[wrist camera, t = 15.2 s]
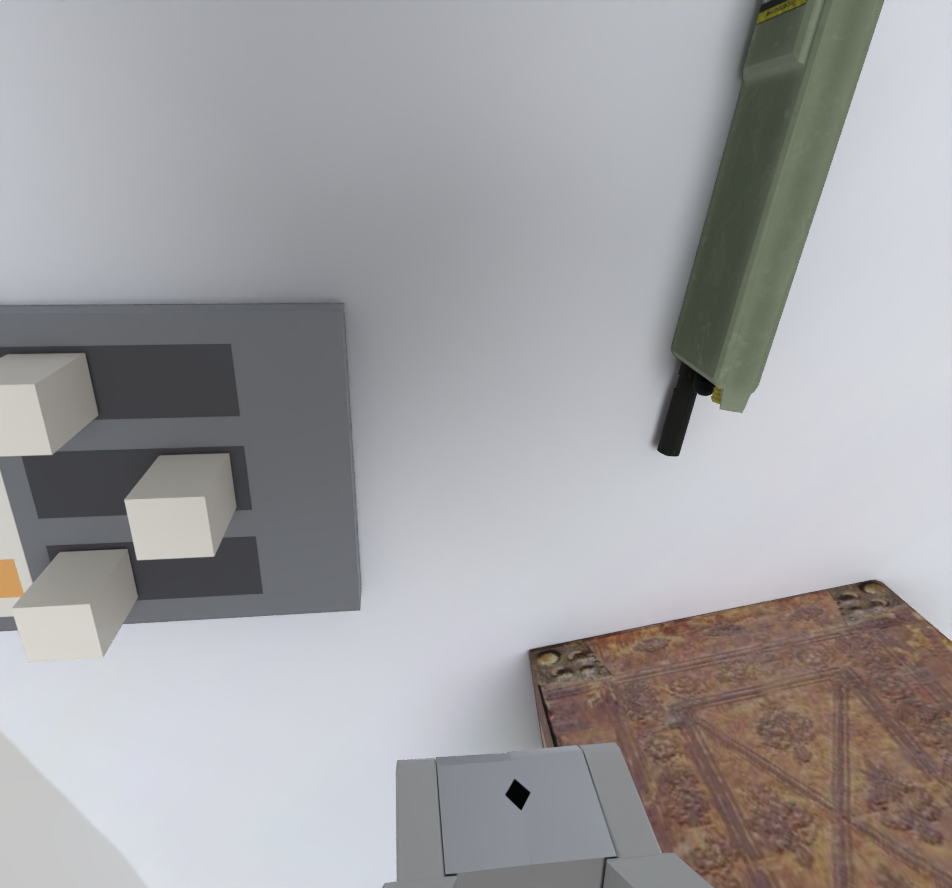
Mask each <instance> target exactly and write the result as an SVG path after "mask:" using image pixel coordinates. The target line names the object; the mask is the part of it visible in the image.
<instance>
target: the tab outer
mask: <svg viewBox="0 0 952 888" xmlns="http://www.w3.org/2000/svg"><path fill="white" fill-rule="evenodd" d="M137 599H138V595H137V590H136V586H135V581H134V576H133V572H132V567H131V563H130V558H129V553H128V549H114V550H93V551H71V552H59V553H58V554H57V556H56V557H55V558H54V559H53V560H52V561H51V563H50V564H49V565H48V566H47V567H46V568H45V570H44V571H43V572H42V573H41V574H40V575H39V577H38V578H37V579H36V580H35V581H34V582H33V584H32V585H31V586H30V587H29V588H28V589H27V591H26V592H25V593H24V594H23V595H22V597H21V598H20V599H19V600H18V601H17V602H16V604H15V605H14V606H13V607H12V608H11V609H12V612H13V616H14V619H15V622H16V625H17V629H18V632H19V635H20V638H21V642H22V645H23V648H24V651H25V655H26V658H27V661H28V662H40V661H56V660H71V659H87V658H103V657H104V655H105V653H106V652H107V650H108V648H109V646H110V645H111V643H112V641H113V640H114V638H115V636H116V635H117V633H118V631H119V629H120V628H121V626H122V624H123V623H124V621H125V619H126V617H127V616H128V614H129V612H130V611H131V609H132V607H133V605H134V604H135V602H136V600H137Z"/></svg>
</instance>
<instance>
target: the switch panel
mask: <svg viewBox="0 0 952 888" xmlns="http://www.w3.org/2000/svg"><path fill="white" fill-rule="evenodd" d="M52 353H85V355H86V359H87V364H88V369H89V373H90V378H91V383H92V387H93V392H94V396H95V401H96V406H97V410H98V416H97V417H96V418H95V419H93V420H92V421H91V422H90V423H89V424H88V425H86V426H85V427H84V428H83V429H82V430H81V431H79V432H78V433H77V434H76V435H75V436H74V437H72V438H71V439H70V440H69V441H68V442H67V443H65V444H64V445H63V446H62V447H61V448H60V449H58V450H57V451H56V452H55V453H54V454H53V455H33V456H1V457H0V631H14V630H18V629H17V625H16V622H15V619H14V616H13V612H12V609H11V608H12V607H13V606H14V605H15V604H16V602H17V601H18V600H19V599H20V598H21V597H22V595H23V594H24V593H25V592H26V591H27V589H28V588H29V587H30V586H31V585H32V584H33V582H34V581H35V580H36V579H37V578H38V577H39V575H40V574H41V573H42V572H43V571H44V570H45V568H46V567H47V566H48V565H49V564H50V563H51V561H52V560H53V559H54V558H55V557H56V556H57V554H58V553H59V552H71V551H93V550H114V549H128V553H129V558H130V563H131V567H132V572H133V576H134V581H135V586H136V590H137V595H138V599H137V600H136V602H135V604H134V605H133V607H132V609H131V611H130V612H129V614H128V616H127V617H126V619H125V621H124V623H123V624H134V623H151V622H168V621H185V620H202V619H219V618H236V617H253V616H270V615H287V614H304V613H321V612H339V611H356V610H360V605H361V575H360V558H359V542H358V526H357V510H356V493H355V477H354V461H353V444H352V428H351V412H350V395H349V379H348V363H347V346H346V330H345V314H344V303H285V304H144V305H2V306H0V358H1V357H3V356H5V355H7V354H52ZM218 453H229V456H230V463H231V470H232V477H233V485H234V492H235V499H236V506H237V507H236V510H235V512H234V514H233V516H232V518H231V521H230V523H229V525H228V527H227V530H226V532H225V534H224V536H223V538H222V541H221V543H220V545H219V547H218V549H217V552H216V554H215V556H214V557H196V558H175V559H154V560H137V558H136V553H135V549H134V544H133V539H132V534H131V530H130V525H129V520H128V516H127V511H126V506H125V501H124V499H125V498H126V497H127V496H128V494H129V493H130V492H131V490H132V489H133V488H134V487H135V485H136V484H137V483H138V482H139V480H140V479H141V478H142V477H143V475H144V474H145V473H146V472H147V470H148V469H149V468H150V467H151V465H152V464H153V463H154V462H155V460H156V459H157V458H158V457H159V455H187V454H218Z"/></svg>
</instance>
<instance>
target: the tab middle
mask: <svg viewBox="0 0 952 888" xmlns="http://www.w3.org/2000/svg"><path fill="white" fill-rule="evenodd" d="M124 501H125V506H126V511H127V516H128V520H129V525H130V530H131V534H132V539H133V544H134V549H135V553H136V558H137V560H154V559H175V558H196V557H214V556H215V554H216V552H217V549H218V547H219V545H220V543H221V541H222V538H223V536H224V534H225V532H226V530H227V527H228V525H229V523H230V521H231V518H232V516H233V514H234V512H235V510H236V507H237V506H236V499H235V492H234V485H233V477H232V470H231V463H230V456H229V453H218V454H187V455H159V457H158V458H157V459H156V460H155V462H154V463H153V464H152V465H151V467H150V468H149V469H148V470H147V472H146V473H145V474H144V475H143V477H142V478H141V479H140V480H139V482H138V483H137V484H136V485H135V487H134V488H133V489H132V490H131V492H130V493H129V494H128V496H127V497H126V498H125V499H124Z"/></svg>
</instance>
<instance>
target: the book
mask: <svg viewBox="0 0 952 888" xmlns="http://www.w3.org/2000/svg"><path fill="white" fill-rule="evenodd" d="M529 658H530V665H531V672H532V678H533V685H534V692H535V698H536V705H537V711H538V718H539V725H540V731H541V738H542V745H543V748H553V747H563V746H573V745H576V746H579V745H589V744H600V743H611V742H615V743H616V744H617V745H618V746H619V748H620V749H621V752H622V754H623V757H624V759H625V762H626V764H627V767H628V769H629V772H630V774H631V777H632V779H633V782H634V784H635V787H636V789H637V792H638V794H639V797H640V799H641V802H642V804H643V807H644V809H645V812H646V814H647V817H648V819H649V822H650V824H651V827H652V829H653V832H654V834H655V837H656V839H657V842H658V844H659V847H660V849H661V852H662V853H675V854H676V855H677V856H678V857H679V858H680V859H681V860H683V861H684V862H685V863H686V864H687V865H688V866H690V867H691V868H692V869H693V870H694V871H695V872H696V873H698V874H699V875H700V876H701V877H702V878H703V879H704V880H706V881H707V882H708V883H709V884H710V885H711V886H713V887H714V888H952V641H950V640H949V639H948V638H947V637H946V636H945V635H943V634H942V633H941V632H940V631H939V630H938V629H936V628H935V627H934V626H933V625H932V624H930V623H929V622H928V621H927V620H926V619H925V618H923V617H922V616H921V615H920V614H919V613H918V612H916V611H915V610H914V609H913V608H912V607H911V606H909V605H908V604H907V603H906V602H905V601H903V600H902V599H901V598H900V597H899V596H898V595H896V594H895V593H894V592H893V591H892V590H891V589H889V588H888V587H887V586H886V585H885V584H884V583H882V582H880V581H874V580H869V581H864V582H859V583H854V584H849V585H845V586H840V587H835V588H830V589H825V590H820V591H815V592H811V593H806V594H801V595H796V596H791V597H786V598H781V599H776V600H772V601H767V602H762V603H757V604H752V605H747V606H742V607H738V608H733V609H728V610H723V611H718V612H713V613H708V614H703V615H699V616H694V617H689V618H684V619H679V620H674V621H669V622H665V623H660V624H655V625H650V626H645V627H640V628H635V629H630V630H626V631H621V632H616V633H611V634H606V635H601V636H596V637H592V638H587V639H582V640H577V641H572V642H567V643H562V644H558V645H553V646H548V647H543V648H538V649H533V650H530V652H529Z"/></svg>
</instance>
